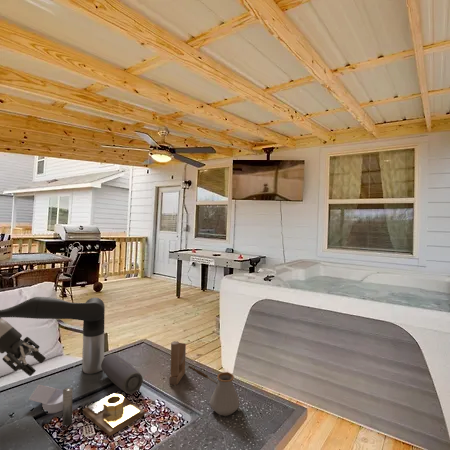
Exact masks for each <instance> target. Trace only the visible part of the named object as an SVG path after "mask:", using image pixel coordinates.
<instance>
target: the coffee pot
mask: <svg viewBox="0 0 450 450" xmlns="http://www.w3.org/2000/svg"><path fill="white" fill-rule="evenodd" d="M189 369H191V371H192V372H195V373H196V374H198V375H199V376H202V377H203V378H205V379H208V380H210V381H211V382H213V383H214V384H216V387H215V388H214V391H213V393H212V395H211V397H210V400H209V403H210V404H209V405H210V407H211V409H212V410H213V411H214V412H215V413H216V414H218V415H220V416H225V417H227V416H231V415H232V414H233V413H235V412H236V411H237V410H238V408H239V406H240V398H239V396H238V394H237V390H236V388H235V386H234V384H233V381H234V378H235V376H234V374H233V373H231V372H229V371H224V372H220V373H218V374H217V376H216V377H217V380H218V381H217V380H216V379H214V378H212V377H210V376H208V375H207V374H206V373H204V372H202V371H201V370H199V369H197V368H195V367H192V366H191V365H188V367H187V369H186V371H188V370H189Z"/></svg>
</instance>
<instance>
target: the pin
mask: <svg viewBox="0 0 450 450" xmlns="http://www.w3.org/2000/svg"><path fill="white" fill-rule="evenodd" d="M62 390H63V410H62V426H63V427H68V426H70V425H72V423H73V388H72V387H66V388H63V389H62Z"/></svg>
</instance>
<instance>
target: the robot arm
mask: <svg viewBox="0 0 450 450" xmlns="http://www.w3.org/2000/svg"><path fill="white" fill-rule="evenodd" d="M105 311H106V310H105V302H104V301H103V299H101V298H99V297H91V298H89V299H87V300H86V301H85V302H70V301H67V300H65V299H64V300H63V299H60V298H57V297H56V298H55V297H50V296H49V297H46V296H35V297H32V298H29V299H27V300H25V301H22V302H20V303H18V304H16V305H14V306H11V307H8V308H5V309H0V354H4V353H6V354H5V355H4V356H3V357H2V361H3V362H4V363H5V365H8V367H10V369H12V370H13V371H14V372H17V371H18V370H22V371H23V372H24V373H25V374H26V375H28V376H29V377H31V376H32V375H34V374H35V373H36V369H35V368H34V367H33V366H32V365H30V364H29V363H27V361H26V356H29V357H30V356H31V357H33V359H35V360H36V361H37V362H38V363H39V364H42V363H44V361H46V358H47V357H45V356H44V355H43V354H42V353H41V352H40V350H39V349H40V346H39V344H38V343H36V342H35V341H34V340H32V339H31V338H30V337H28V336H26V337H25V338H24V339H21V338H22V336H23V335H22V333H21V332H20V331H18V330H17V329H16V328H15V327H14V326H13V325H11V324H10V323H9V322H8V321H6V320H4V319H3V318H19V319H35V320H36V319H37V320H38V319H39V320H40V319H43V320H50V319H51V320H75V321H83V323H82V324H83V325H82V327H83V328H82V359H81V360H82V366H81V367H82V372H83V374H87V375H88V374H89V375H90V374H91V375H92V374H97V373H100V372H101V371H103V370H102V368H101V364H102V361H103V359H104V358H105Z"/></svg>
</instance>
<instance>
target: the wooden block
mask: <svg viewBox="0 0 450 450" xmlns="http://www.w3.org/2000/svg"><path fill="white" fill-rule="evenodd" d="M186 345H187V344H186V342H185V343H183V342H179V341H177V340H175V341H172V342H171V343H170V375H169V376H168V377H169V383H168V384H169V385H172V386H177V385H178V384H179V383H180V381H181V380H182V378H183V376H185V373H186V351H187V350H186V348H187V347H186Z"/></svg>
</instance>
